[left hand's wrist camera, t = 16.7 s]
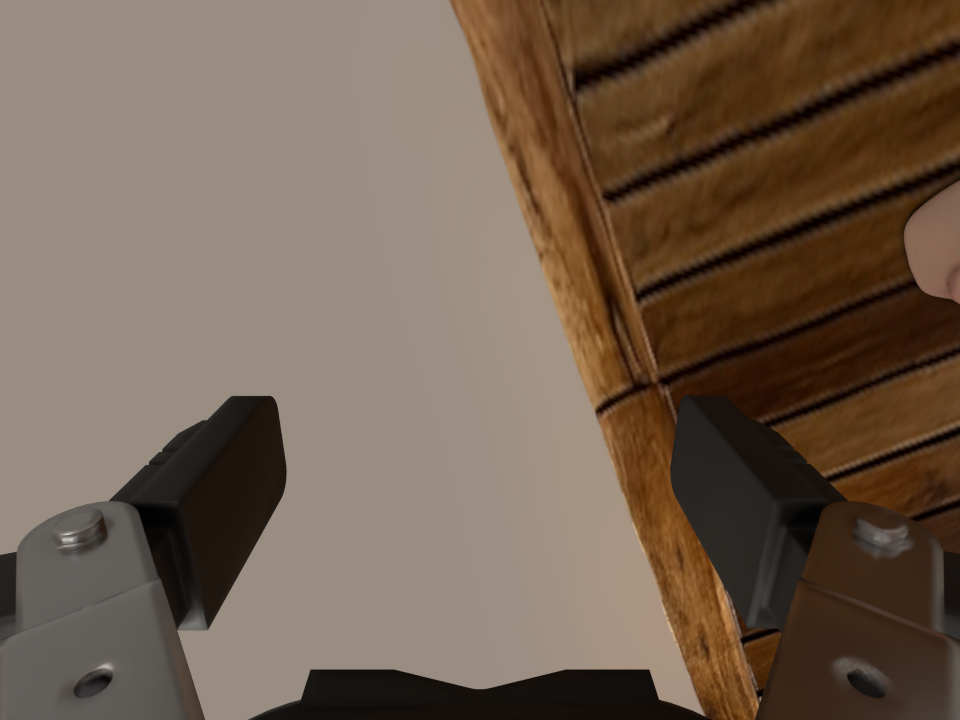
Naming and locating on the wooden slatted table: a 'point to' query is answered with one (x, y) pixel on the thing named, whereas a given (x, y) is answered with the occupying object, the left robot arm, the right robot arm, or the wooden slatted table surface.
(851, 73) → the wooden slatted table surface
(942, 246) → the anatomical model
